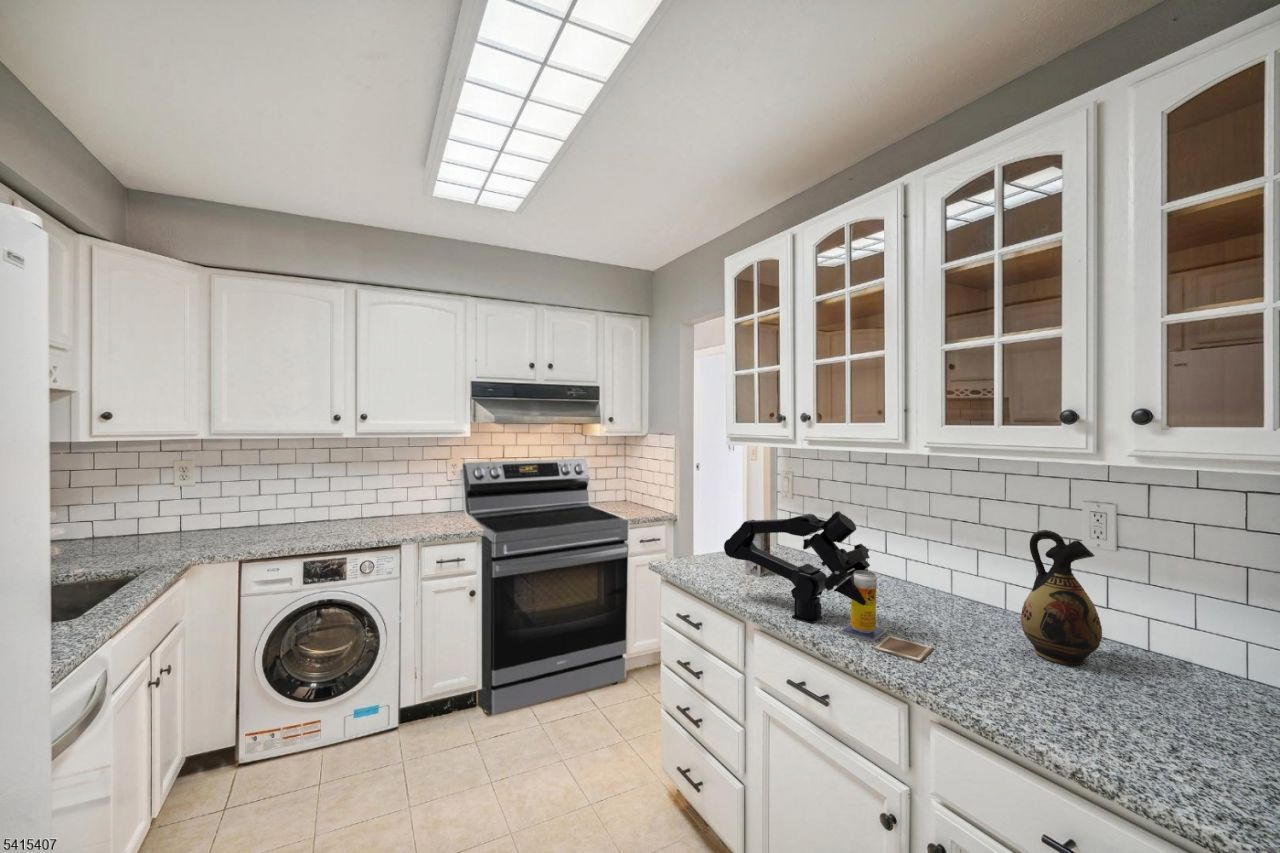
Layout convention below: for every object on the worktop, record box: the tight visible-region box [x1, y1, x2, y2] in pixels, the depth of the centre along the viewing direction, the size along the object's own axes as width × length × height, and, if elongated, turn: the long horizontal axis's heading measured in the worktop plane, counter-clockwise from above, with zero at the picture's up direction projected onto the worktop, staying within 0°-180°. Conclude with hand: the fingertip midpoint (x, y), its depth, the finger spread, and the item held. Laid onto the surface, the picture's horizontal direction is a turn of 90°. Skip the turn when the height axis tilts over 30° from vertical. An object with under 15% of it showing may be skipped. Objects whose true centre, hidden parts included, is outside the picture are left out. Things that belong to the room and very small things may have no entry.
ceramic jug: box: [1020, 529, 1103, 667], centre depth 131 cm, size 17×15×30 cm
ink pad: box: [839, 624, 888, 643], centre depth 145 cm, size 9×9×1 cm
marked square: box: [872, 635, 935, 664], centre depth 135 cm, size 11×11×1 cm
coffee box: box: [744, 533, 771, 577], centre depth 203 cm, size 9×6×16 cm
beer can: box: [850, 570, 878, 633], centre depth 145 cm, size 6×6×15 cm
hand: (869, 601), depth 144 cm, fingers closed on beer can, 6 cm apart
